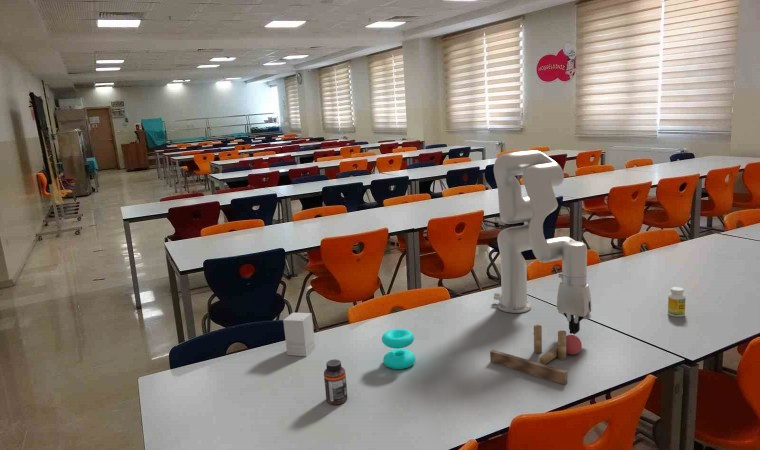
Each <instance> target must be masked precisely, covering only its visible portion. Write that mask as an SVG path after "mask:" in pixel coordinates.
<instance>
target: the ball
mask: <svg viewBox="0 0 760 450" xmlns="http://www.w3.org/2000/svg"><path fill="white" fill-rule="evenodd" d="M582 347H583V346H582V341H581V339H580V338H579V337H578V336H576V334H566V355H567V354H568V355H573V356H574V355H577V354H578V353H579V352H581V349H582Z"/></svg>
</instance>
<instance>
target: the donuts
mask: <svg viewBox="0 0 760 450" xmlns="http://www.w3.org/2000/svg"><path fill="white" fill-rule="evenodd" d="M414 340H415V336H414V334H413V332H412V331H410V330H409V329H405V328H393V329H390V330H387V331H385V332H384V333H383V334H382V337H381V341H382V342H381V343H382V344H383V345H385V346H386V347H387V348H391V349H392V350H390V351H387V352H386V353H385V354H384V355H383V356H384V357H383V358H382V359H383V364H384V365H385V366H386V367H388V368H389V369H393V370H405V369H408V368H411V366H413V365H414V364H415V362H416V355H415V354H414V353H413V351H411V350H408V349H405V348H407V347H409V346H411V344H413V342H414Z"/></svg>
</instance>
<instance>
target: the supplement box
mask: <svg viewBox="0 0 760 450" xmlns="http://www.w3.org/2000/svg"><path fill="white" fill-rule="evenodd" d="M312 314H313V313H312V312H291V313H290V314H289V315H288V316H287V317H286V318H284V319H282V323H283V330H284V336H285V337H284V338H285V348H286V353H287V354H286V355H287V356H295V357H296V356H297V357H308V356H309V354H311V353H312V352H313V351H314V350H315V348H316V344H315V343H316V342H315V334H314V332H315V331H314V323H313V315H312Z"/></svg>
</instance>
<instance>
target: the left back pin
mask: <svg viewBox="0 0 760 450" xmlns="http://www.w3.org/2000/svg"><path fill="white" fill-rule="evenodd" d="M542 327H543V326H542V325H540V324H534V325H533V352H534V353H536V354H541V353H543V344H542V343H543V331H542V330H543V328H542Z"/></svg>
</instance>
